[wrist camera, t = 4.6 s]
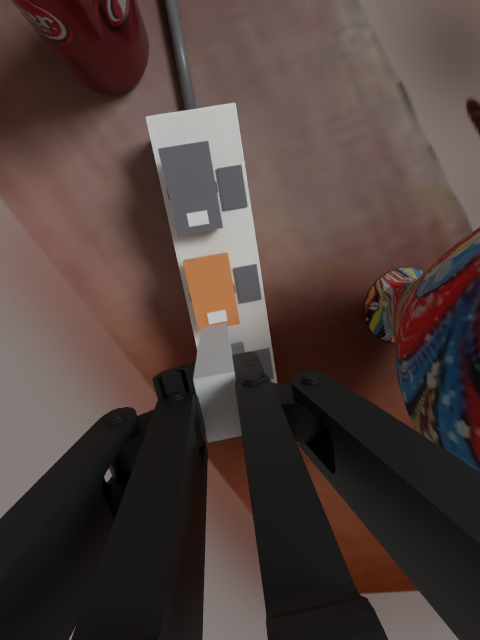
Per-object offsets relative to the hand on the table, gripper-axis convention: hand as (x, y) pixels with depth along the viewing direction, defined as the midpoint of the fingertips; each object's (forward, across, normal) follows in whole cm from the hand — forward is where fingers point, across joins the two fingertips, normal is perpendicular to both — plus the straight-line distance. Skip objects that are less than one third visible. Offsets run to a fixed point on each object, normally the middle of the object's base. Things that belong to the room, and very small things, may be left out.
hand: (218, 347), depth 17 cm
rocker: (+8, 0, +10) cm, 13 cm away
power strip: (+13, +1, +8) cm, 16 cm away
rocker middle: (+8, 0, +2) cm, 8 cm away
